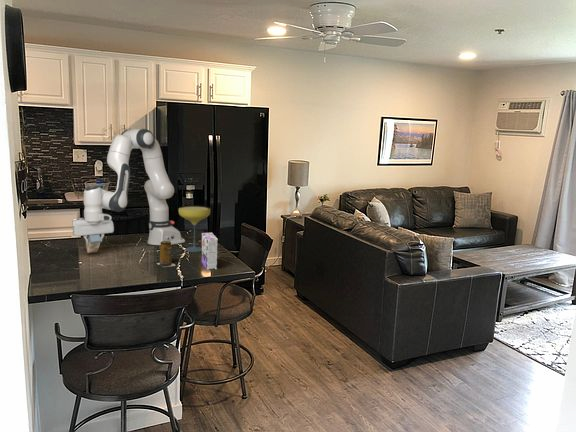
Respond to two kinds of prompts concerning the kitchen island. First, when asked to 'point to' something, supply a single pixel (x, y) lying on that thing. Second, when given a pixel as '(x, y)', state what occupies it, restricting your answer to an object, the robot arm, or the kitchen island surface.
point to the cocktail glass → (194, 219)
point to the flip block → (93, 243)
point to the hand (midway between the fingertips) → (94, 242)
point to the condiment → (166, 254)
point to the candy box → (209, 251)
